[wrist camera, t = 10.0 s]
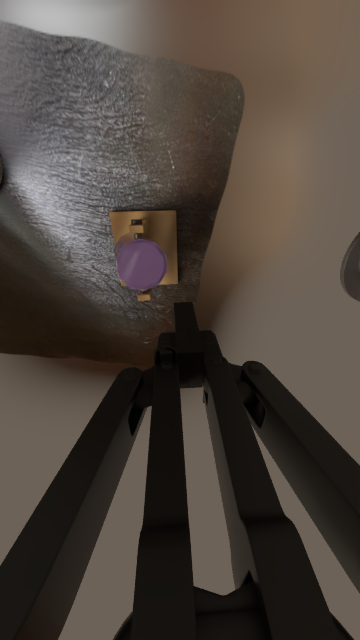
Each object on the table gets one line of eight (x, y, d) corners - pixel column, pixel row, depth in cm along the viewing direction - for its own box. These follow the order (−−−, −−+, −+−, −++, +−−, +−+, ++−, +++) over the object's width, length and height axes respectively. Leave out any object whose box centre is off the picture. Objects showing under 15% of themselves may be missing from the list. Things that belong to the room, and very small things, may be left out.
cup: (111, 236, 29) (110, 229, 36) (121, 296, 33) (118, 279, 41) (165, 232, 30) (153, 226, 38) (168, 290, 35) (157, 275, 42)
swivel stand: (175, 210, 39) (178, 213, 28) (177, 282, 46) (180, 306, 35) (110, 211, 38) (89, 215, 28) (122, 284, 45) (109, 309, 35)
